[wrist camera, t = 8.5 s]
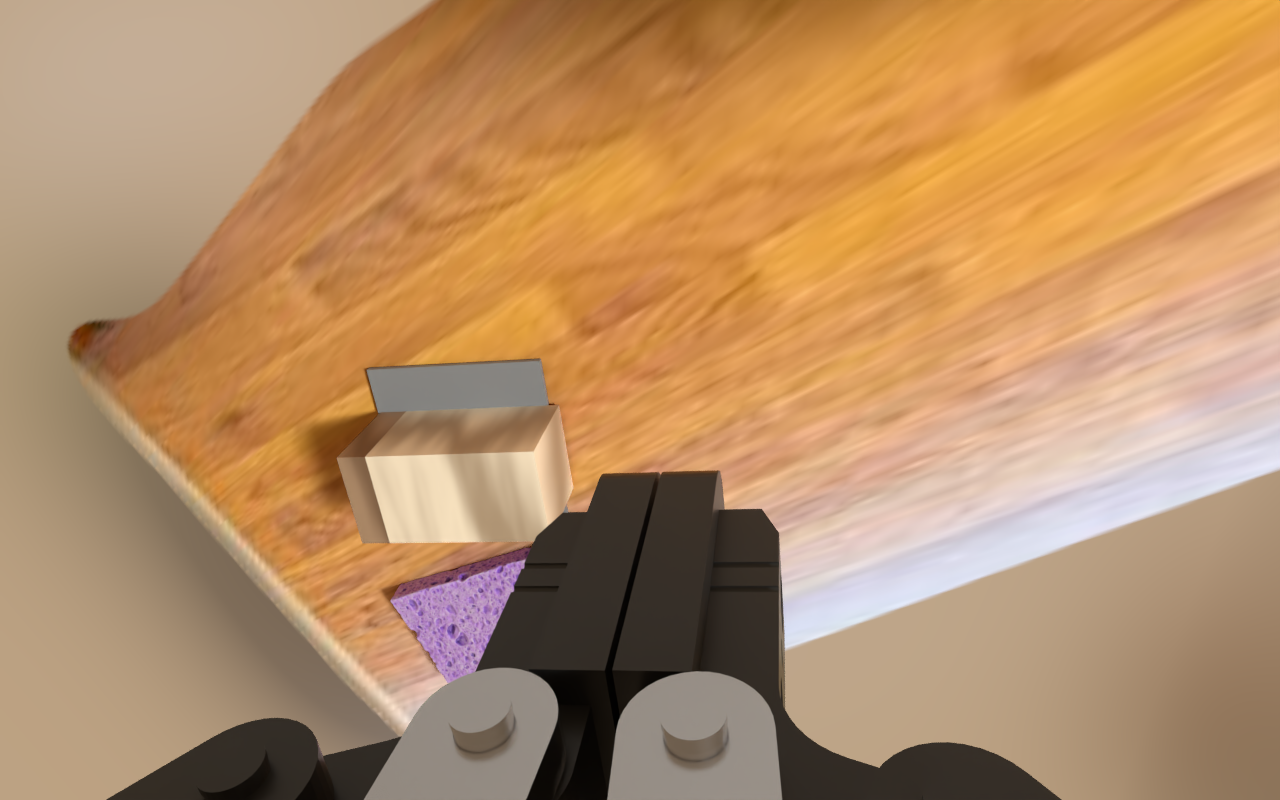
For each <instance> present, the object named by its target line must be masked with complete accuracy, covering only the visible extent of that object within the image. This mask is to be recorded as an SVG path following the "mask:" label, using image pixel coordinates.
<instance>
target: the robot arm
mask: <svg viewBox="0 0 1280 800" xmlns="http://www.w3.org/2000/svg"><path fill="white" fill-rule="evenodd" d="M784 664H785V647H784V616H783V598H782V580H781V562H780V544H779V533H778V531H777V530H776V528H775V527H774V526H773V524H772V523H771V521H770V520H769V519H768V517H767V516H766V514H765V513H764V512H763V510H762V509H733V510H724V498H723V487H722V479H721V474H720V471H682V472H662V474H661V475H660V473H659V472H651V473H612V474H602V476H601V477H600V479H599V482H598V485H597V487H596V490H595V493H594V495H593V498H592V501H591V503H590V506H589V509H588V511H587V512H570V513H562V514H561V515H560V516H558V517H557V518H556V519H555V520H554V521H553V522H552V523H551V524H549V525H548V526H547V527H546V528H545V529H544V530H543V531H542V532H541V533H539V534H538V535H537V536H536V538H535V541H534V543H533V545H532V547H531V549H530V552H529V554H528V556H527V558H526V560H525V563H524V569H521V571H520V574H519V576H518V578H517V580H516V582H515V585H514V592H511V594H510V596H509V598H508V600H507V602H506V605H505V607H504V609H503V611H502V613H501V616H500V618H499V620H498V622H497V624H496V627H495V629H494V631H493V633H492V635H491V638H490V640H489V642H488V644H487V646H486V649H485V651H484V653H483V655H482V657H481V660H480V662H479V664H478V666H477V669H476V671H475V672H473V673H470V674H468V675H465V676H462V677H460V678H458V679H456V680H454V681H452V682H450V683H448V684H447V685H445V686H444V687H442V688H440V689H439V690H438V691H437V692H435V693H434V694H433V695H432V696H430V697H429V698H428V699H427V701H426V702H425V703H424V704H423V705H422V706H421V707H420V709H419V710H418V711H417V713H416V714H415V716H414V717H413V719H412V721H411V722H410V724H409V726H408V727H407V729H406V730H405V732H404V734H403V735H402V736H401V737H398V738H395V739H392V740H388V741H384V742H380V743H376V744H372V745H367V746H363V747H359V748H355V749H350V750H346V751H343V752H338V753H334V754H329V755H326V756H323V755H322V753H321V750H320V748H319V745H318V742H317V739H316V737H315V736H314V734H313V732H312V731H311V730H310V729H309V728H308V727H307V726H306V725H304V724H302V723H300V722H298V721H294V720H291V719H284V718H269V719H261V720H255V721H251V722H248V723H244V724H241V725H238V726H236V727H233V728H231V729H228V730H226V731H224V732H222V733H220V734H218V735H216V736H214V737H213V738H211V739H209V740H207V741H206V742H204V743H202V744H200V745H199V746H197V747H195V748H194V749H192V750H190V751H189V752H187V753H185V754H183V755H182V756H180V757H178V758H177V759H175V760H173V761H171V762H170V763H168V764H166V765H165V766H163V767H161V768H159V769H158V770H156V771H154V772H153V773H151V774H149V775H148V776H146V777H144V778H143V779H141V780H139V781H138V782H136V783H134V784H132V785H131V786H129V787H127V788H126V789H124V790H122V791H120V792H119V793H117V794H115V795H114V796H112V797H110V798H108V799H107V800H1061V799H1060V798H1059V797H1057V796H1056V795H1055V794H1053V793H1052V792H1051V791H1050V790H1048V789H1047V788H1046V787H1044V786H1043V785H1042V784H1041V783H1039V782H1038V781H1037V780H1036V779H1034V778H1033V777H1032V776H1030V775H1029V774H1028V773H1027V772H1025V771H1024V770H1022V769H1021V768H1019V767H1018V766H1016V765H1015V764H1014V763H1012V762H1010V761H1008V760H1006V759H1004V758H1003V757H1001V756H999V755H997V754H994V753H992V752H989V751H986V750H984V749H981V748H977V747H973V746H969V745H965V744H957V743H948V742H947V743H928V744H922V745H917V746H914V747H910V748H907V749H905V750H903V751H901V752H899V753H897V754H895V755H893V756H892V757H891V758H889V759H888V760H887V761H885V762H884V763H883V764H882V766H881V767H880V768H878V767H875V766H872V765H868V764H865V763H862V762H859V761H856V760H852V759H849V758H846V757H844V756H841V755H839V754H836V753H833V752H831V751H829V750H827V749H826V748H824V747H822V746H820V745H818V744H817V743H815V742H814V741H812V740H811V739H810V738H808V737H807V736H806V735H805V734H804V733H803V732H801V731H800V730H799V729H798V728H797V727H796V726H795V724H794V723H793V722H792V720H791V719H790V718H789V716H788V714H787V712H786V711H785V665H784Z"/></svg>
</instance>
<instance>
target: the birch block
mask: <svg viewBox="0 0 1280 800" xmlns="http://www.w3.org/2000/svg"><path fill="white" fill-rule="evenodd" d="M337 461H338V464H339V468H340V471H341V474H342V478H343V481H344V484H345V487H346V491H347V494H348V497H349V500H350V504H351V507H352V510H353V514H354V517H355V520H356V523H357V527H358V530H359V533H360V536H361V540H362V543H436V542H530V541H535V538H536V536H537V535H538V534H539V533H541V532H542V531H543V530H544V529H545V528H546V527H547V526H548V525H549V524H551V523H552V522H553V521H554V520H555V519H556V518H557V517H558V516H560V515H561V514H562V513H563V511H564V509H565V506H566V504H567V502H568V499H569V497H570V495H571V492H572V490H573V483H572V477H571V472H570V466H569V460H568V454H567V448H566V443H565V437H564V431H563V425H562V420H561V414H560V408H559V405H546V406H522V407H498V408H474V409H450V410H427V411H403V412H380V413H379V414H378V415H377V416H376V417H375V419H374V420H373V421H372V422H371V423H370V424H369V425H368V426H367V427H366V428H365V429H364V430H363V431H362V432H361V433H360V434H359V435H358V436H357V437H356V438H355V439H354V440H353V441H352V442H351V443H350V444H349V445H348V446H347V447H346V448H345V449H344V451H343V452H342V453H341V454H340V455H339V456H338V457H337Z"/></svg>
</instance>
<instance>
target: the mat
mask: <svg viewBox="0 0 1280 800" xmlns="http://www.w3.org/2000/svg"><path fill="white" fill-rule="evenodd" d="M367 374H368V377H369V381H370V385H371V388H372V392H373V396H374V399H375V403H376V407H377V410H378V414H379V413H380V412H403V411H427V410H450V409H474V408H498V407H522V406H546V405H549V402H548V397H547V391H546V385H545V380H544V374H543V369H542V363H541V359H526V360H507V361H488V362H469V363H450V364H431V365H412V366H393V367H374V368H368V369H367ZM563 513H568V508H567V504H566V506H565V509H564V511H563Z"/></svg>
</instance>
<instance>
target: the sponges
mask: <svg viewBox="0 0 1280 800" xmlns="http://www.w3.org/2000/svg"><path fill="white" fill-rule="evenodd" d="M530 549H531V548H523V549H520V550H517V551H514V552H510V553H508V554H504V555H500V556H497V557H493V558H490V559H487V560H484V561H480V562H477V563H473V564H470V565H467V566H463V567H459V568H458V569H455V570H453V571H445V572H441V573H438V574H434V575H431V576H428V577H424V578H420V579H417V580H413V581H410V582H407V583H404V584H400V586H399V587H398V589H397V591H396V592H395V595H394V596H393V597H392V599H391V600H390V601H391V603H392V604H393V606H394V607H395V608H396V610H397V611H398V613H399V614H400V615H401V617H402V619H403V620H404V621H405V622H406V624H407V625H408V627H409V628H410V629H411V630H414V631H415V632H416V633H417V640H418V641H419V642H420V643H421V644H422V646H423V648H424V650H425V651H428V652H429V654H430V657H431V658H432V659H433V662H435V663H436V667H437V669H438V670H439V671H440V673H441V674H442V675H443V676H444V678H445V680H446V681H447V683H450V682H452V681H454V680H456V679H458V678H460V677H462V676H465V675H468V674H470V673H473V672H475V671H476V669H477V666H478V664H479V662H480V660H481V657H482V655H483V653H484V651H485V649H486V646H487V644H488V642H489V640H490V638H491V635H492V633H493V631H494V629H495V627H496V624H497V622H498V620H499V618H500V616H501V613H502V611H503V609H504V607H505V605H506V602H507V600H508V598H509V596H510V594H511V592H514V585H515V582H516V580H517V578H518V576H519V574H520V571H521V569H524V563H525V560H526V558H527V556H528V554H529V552H530Z"/></svg>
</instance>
